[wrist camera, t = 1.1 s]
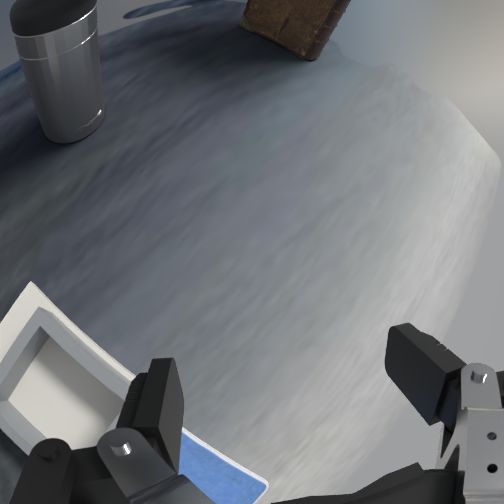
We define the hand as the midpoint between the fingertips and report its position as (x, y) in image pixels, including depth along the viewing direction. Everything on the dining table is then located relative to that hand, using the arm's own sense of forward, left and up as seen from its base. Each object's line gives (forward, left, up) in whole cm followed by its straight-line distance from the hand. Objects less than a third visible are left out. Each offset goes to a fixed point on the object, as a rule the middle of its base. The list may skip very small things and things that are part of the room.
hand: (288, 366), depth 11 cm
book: (-23, +53, -22) cm, 61 cm away
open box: (-11, -12, -21) cm, 27 cm away
